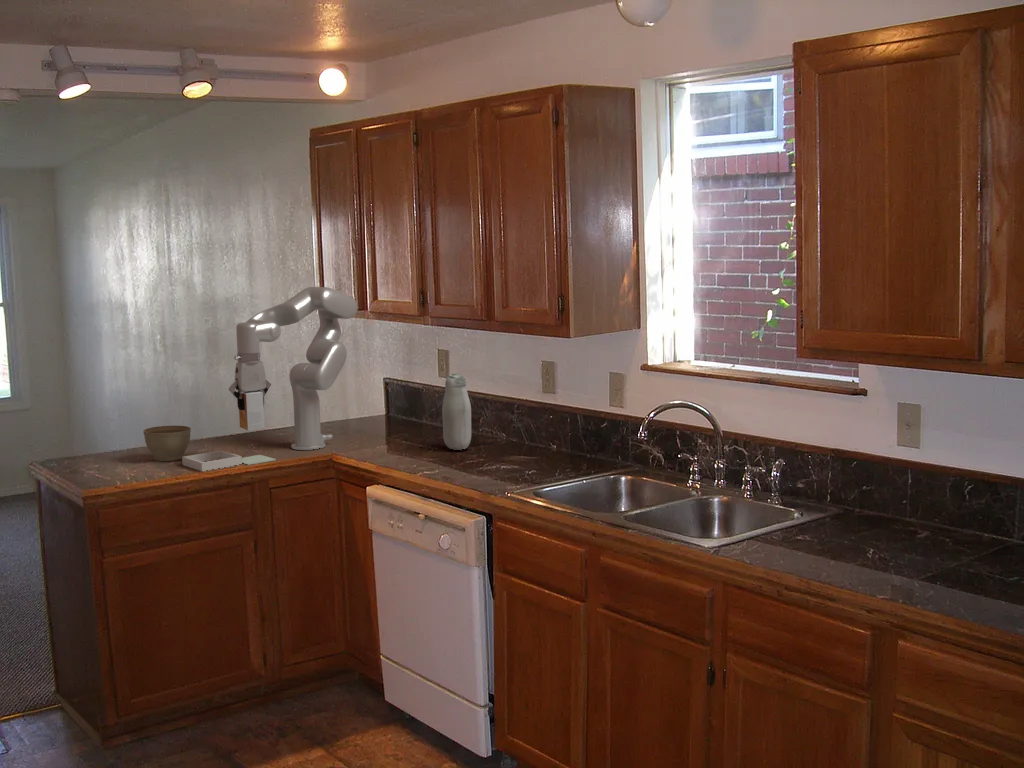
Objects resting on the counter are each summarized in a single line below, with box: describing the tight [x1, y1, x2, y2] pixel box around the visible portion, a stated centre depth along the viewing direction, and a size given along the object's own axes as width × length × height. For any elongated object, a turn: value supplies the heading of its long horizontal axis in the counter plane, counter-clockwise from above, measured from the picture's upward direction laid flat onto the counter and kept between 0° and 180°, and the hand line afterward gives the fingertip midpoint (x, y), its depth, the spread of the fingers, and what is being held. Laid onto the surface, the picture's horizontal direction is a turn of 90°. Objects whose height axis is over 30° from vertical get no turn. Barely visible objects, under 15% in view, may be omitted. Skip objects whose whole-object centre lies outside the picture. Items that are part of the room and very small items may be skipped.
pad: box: [241, 454, 277, 466], centre depth 381 cm, size 11×11×1 cm
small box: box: [238, 390, 265, 432], centre depth 378 cm, size 8×6×13 cm
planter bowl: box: [143, 425, 192, 462], centre depth 385 cm, size 16×16×11 cm
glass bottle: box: [441, 373, 472, 451], centre depth 391 cm, size 10×10×28 cm
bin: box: [181, 450, 243, 472], centre depth 374 cm, size 15×15×3 cm
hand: (251, 408), depth 378 cm, fingers closed on small box, 6 cm apart
